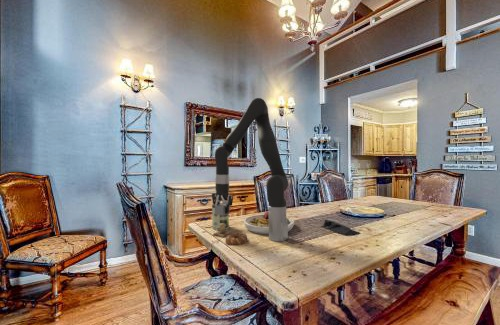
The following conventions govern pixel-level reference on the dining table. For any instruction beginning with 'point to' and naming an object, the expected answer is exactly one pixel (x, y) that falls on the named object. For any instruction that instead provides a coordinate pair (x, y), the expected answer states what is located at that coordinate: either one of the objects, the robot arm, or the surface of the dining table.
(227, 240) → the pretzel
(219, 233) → the brown base with peg
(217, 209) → the matte grey box
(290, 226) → the bowl
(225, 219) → the coffee can
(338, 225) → the dark slate chunk
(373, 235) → the dining table surface
